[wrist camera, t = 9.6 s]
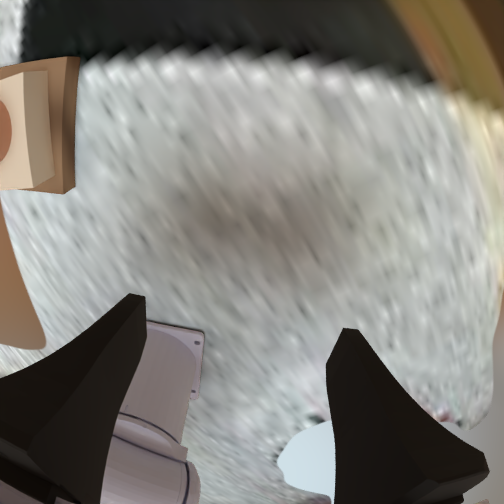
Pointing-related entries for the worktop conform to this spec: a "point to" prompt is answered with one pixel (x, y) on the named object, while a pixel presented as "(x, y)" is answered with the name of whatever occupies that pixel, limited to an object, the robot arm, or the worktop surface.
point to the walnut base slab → (57, 116)
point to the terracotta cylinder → (4, 131)
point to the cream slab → (27, 131)
